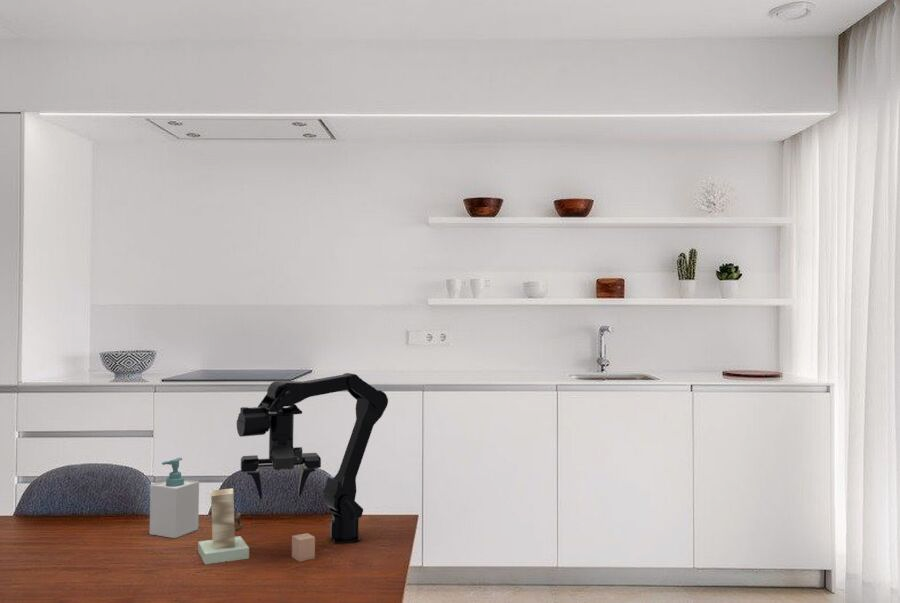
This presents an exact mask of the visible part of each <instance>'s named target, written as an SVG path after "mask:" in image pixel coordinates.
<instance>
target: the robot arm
mask: <svg viewBox="0 0 900 603" xmlns="http://www.w3.org/2000/svg"><path fill="white" fill-rule="evenodd" d="M343 391H347V392H348V393H349V395H351V397H353V398H354V399H355V400H356V402H355V418H356V419H355V422H354V425H353V429H352V431H351V435H350V437H349V440H348V443H347V446H346V449H345V451H344V455H343V457H342V461H341V463H340V466H339V469H338V471H337V473H336V474H335V476H334V477H333V478H332V477H330V476H329V477H327V479H326V483H325V487H324V488H323V490H322V491H321V492H322V493H323V496H322V497H323V499H322V500H323V502H324V504H325V505H326V507H328V509H329V511H330V513H332V520H330V521H329V523H330V525H329V536H330V538H331V539H332V541H333V543H334V544H341V543H342V544H343V543H356V542H360V541H361V538H360V537H359V525H360V524H359V523H360V521H359V520H360V518H362V515H363V513H364V508H363V507H362V506H361V505H360V504H359V503H358V502H356V496H357V481H356V480H357V475H358V473H359V469H360V467H361V464H362V461H363V458H364V455H365V452H366V450H367V446H368V445H369V444H368V443H369V440H370V438H371V434H372V431H373V428H374V426H375V424H376V423H377V422H378V421H379V420H380V419H381V418H382V417H383V415H384V412H385V411H386V409H387V407H388V404H389V398H388V396H387V394H386V393H385V391H383V390H379V389H376V388H375V387H374V386H372V385H370V384H369V383H368V382H366V381H365V380H363V379H362V378H361V377H360V376H359V375H357V374H355V373H350V372H345V373H344V374H340V375H333V376H328V377H322V378H317V379H315V378H314V379H310V380H305V381H297V380H295V381H293V380H275V381H273V382H271V383H270V384H269V386H268V388H267V391H266V392H267V393H266V394H265V395H264V397H263V399H262V400H261V401H260V403H259V405H257V407H248V406H243V407H240V409H239V410H240V412H239V413H238V417H237V420H236V430H237V434H238V436H239V437H251V436H253V437H254V436H255V437H256V436H263V435H266V434H267V432H269V433H268V434H269V436H268V437H269V438H268V458H259V456H258V455H257V454H255V455H242V457H241V458H240V471H241V472H242V473H245V472H246V475H247V476H251V477H252V480H253V481H254V483H255V487H256V490H257V494H258V497H259V500H262V499H263V492H262V491H263V490H262V483H261V473H260V469H259V468H264V467H272V469H273V470H275V471H280V470H293V469H294V467H295V466H300V470H299V479H298V480H299V481H298V489H297V492H298V497H299V498H301V496H302V493H303V490H304V487H305V484H306V482H307V479H308V478H309V476H310V474H312V472H315V471H316V469H320V468H321V467H322V458H321V457H320V455H319V454H318V453H317V452H303V447H302V446H296V447H294V421H295V420H294V416H295V415H302V414H303V411H302V410H301V409H300V408H299V407H298V406H297V404H298V403H301V402H303V401H305V400H306V399H308V398H311V397H316V396H317V397H318V396H321V395H322V396H323V395H327V394H332V393H338V392H343Z"/></svg>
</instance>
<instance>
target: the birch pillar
mask: <svg viewBox="0 0 900 603" xmlns="http://www.w3.org/2000/svg"><path fill="white" fill-rule="evenodd" d="M210 491H211V494H210V500H211V501H210V502H211V503H210V504H211V506H210V507H211V533H212V534H211V537H212V539H211V540H212V541H213V549H217V548H225V547H233V546H235V537H236V535H235V534H236V533H235V531H236V530H235V531H234V525H235V521H234V514H235V506H234V504H235V502H234V498H235V497H234V488H223V489H214V490H210Z"/></svg>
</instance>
